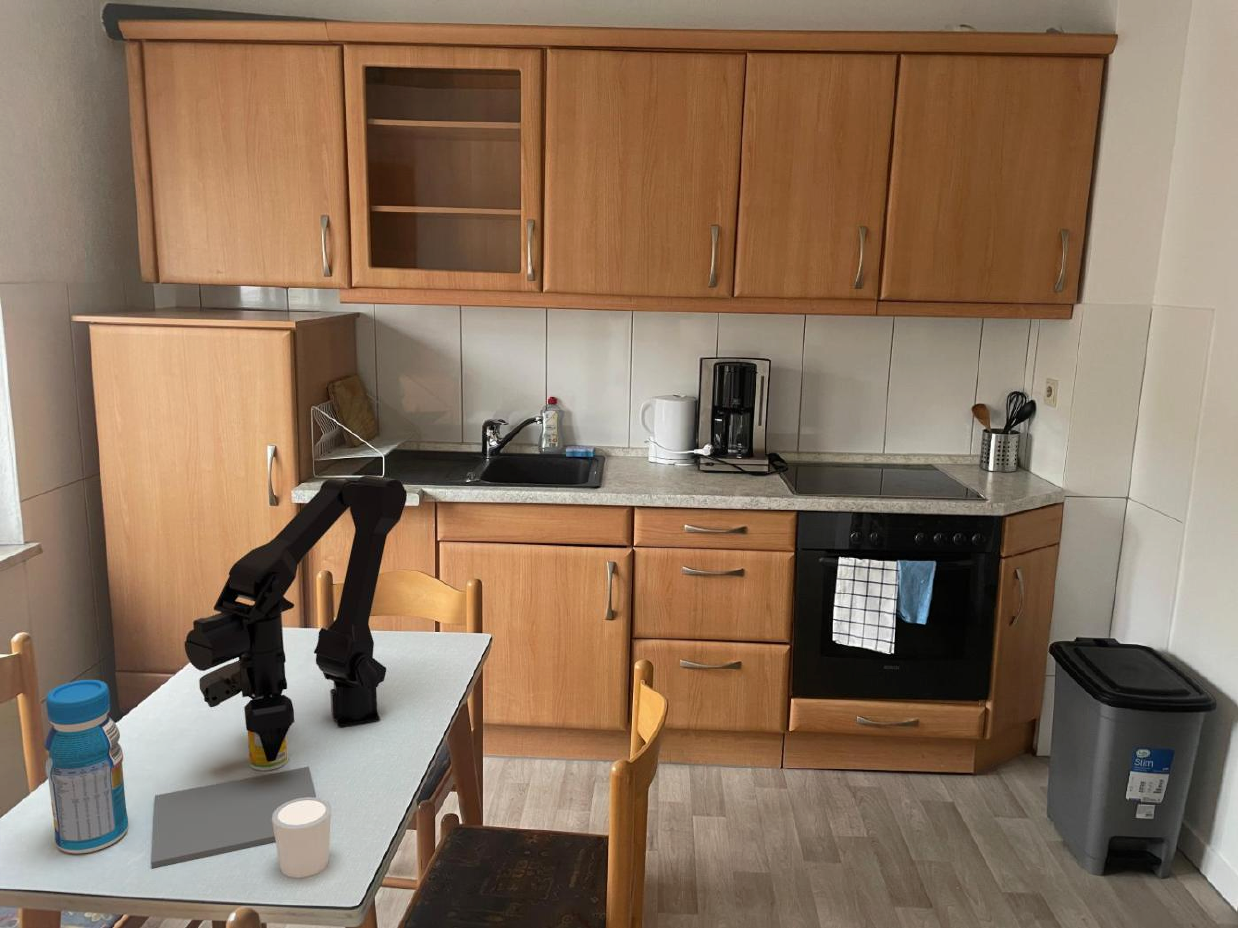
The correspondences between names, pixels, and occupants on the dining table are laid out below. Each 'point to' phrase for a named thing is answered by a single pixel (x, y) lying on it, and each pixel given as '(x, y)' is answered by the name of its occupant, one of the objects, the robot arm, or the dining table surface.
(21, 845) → the dining table surface
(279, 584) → the robot arm
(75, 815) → the beverage bottle
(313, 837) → the cream cup
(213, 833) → the charcoal mat
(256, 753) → the supplement bottle
